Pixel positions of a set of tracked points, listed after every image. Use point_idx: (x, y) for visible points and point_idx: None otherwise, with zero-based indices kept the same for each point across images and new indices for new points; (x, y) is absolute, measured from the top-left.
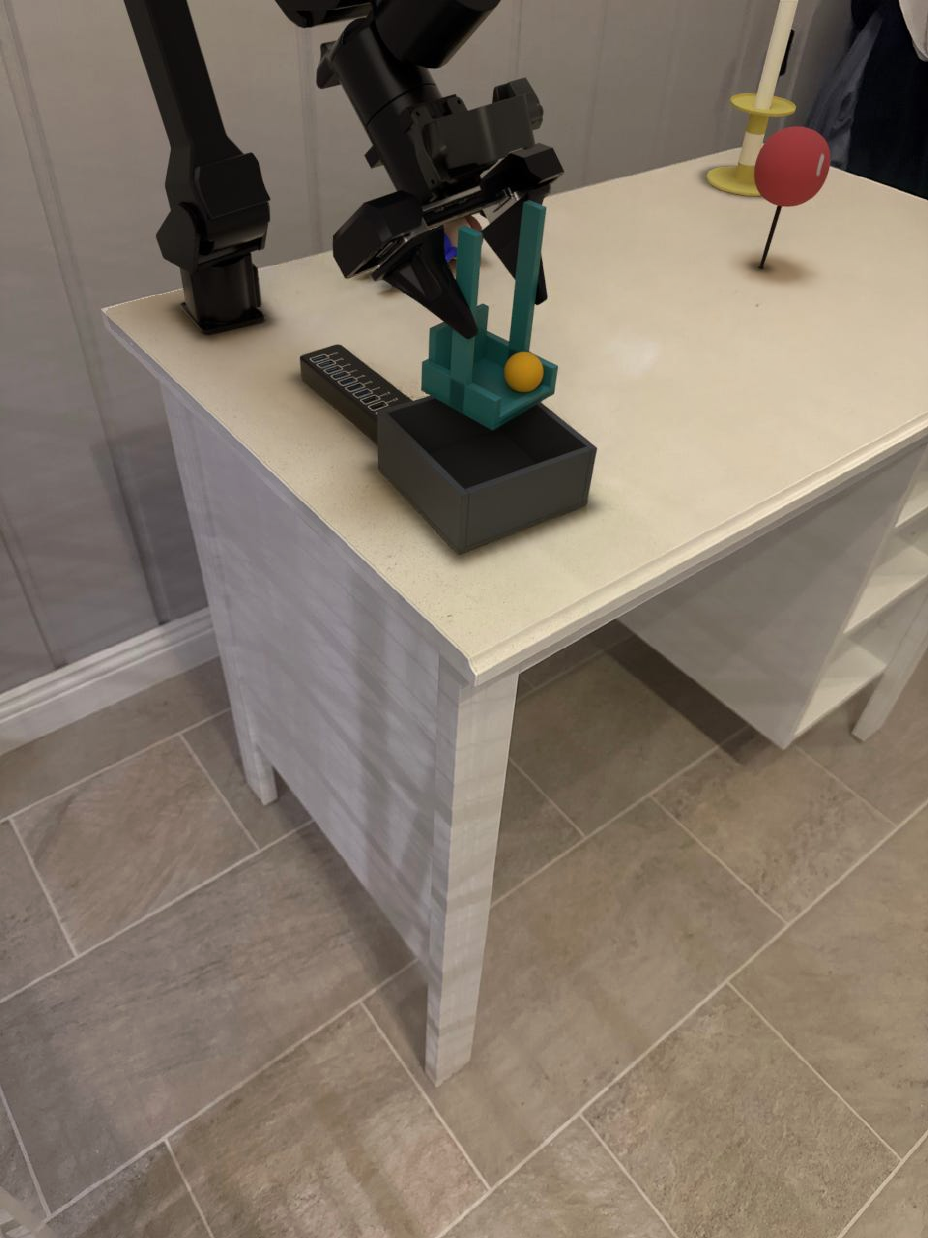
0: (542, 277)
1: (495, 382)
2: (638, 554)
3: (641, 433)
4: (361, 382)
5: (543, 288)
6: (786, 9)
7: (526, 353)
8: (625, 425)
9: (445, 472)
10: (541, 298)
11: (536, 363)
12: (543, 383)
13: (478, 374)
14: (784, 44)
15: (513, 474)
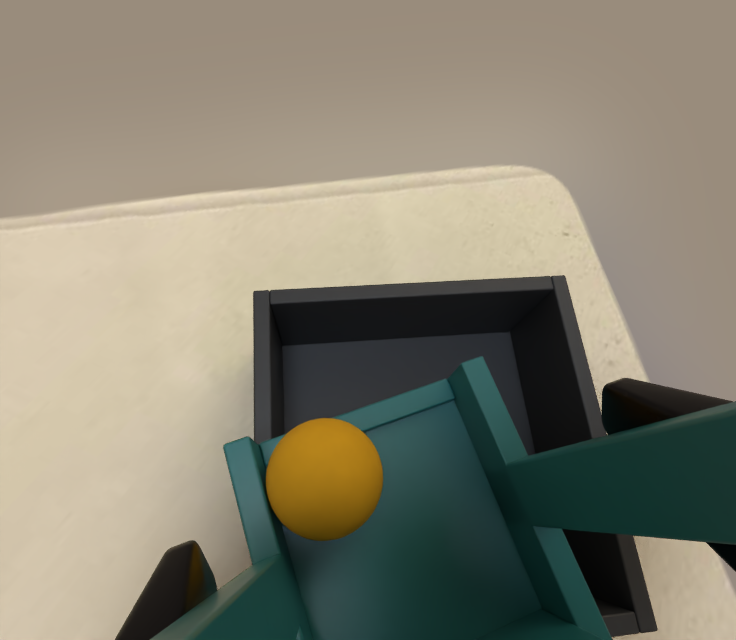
0: (139, 628)
1: (373, 544)
2: (272, 220)
3: (10, 485)
4: None
5: (171, 575)
6: None
7: (318, 479)
8: (14, 528)
9: (572, 343)
10: (200, 556)
11: (306, 437)
12: (264, 467)
13: (398, 608)
14: None
15: (453, 287)
